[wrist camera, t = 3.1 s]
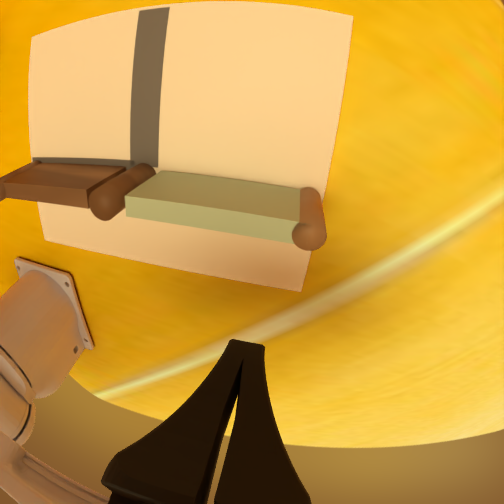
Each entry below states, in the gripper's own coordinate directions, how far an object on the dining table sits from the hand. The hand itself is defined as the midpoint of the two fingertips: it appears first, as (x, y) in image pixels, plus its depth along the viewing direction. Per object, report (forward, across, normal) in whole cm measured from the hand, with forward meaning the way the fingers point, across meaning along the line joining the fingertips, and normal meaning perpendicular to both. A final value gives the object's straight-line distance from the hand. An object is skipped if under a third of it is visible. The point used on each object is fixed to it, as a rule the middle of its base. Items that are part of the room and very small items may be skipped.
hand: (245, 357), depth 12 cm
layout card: (+8, +8, -6) cm, 13 cm away
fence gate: (+7, +2, -4) cm, 8 cm away
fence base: (+7, +12, -4) cm, 15 cm away
